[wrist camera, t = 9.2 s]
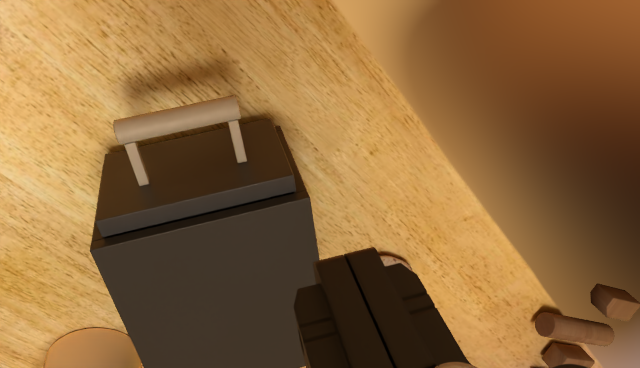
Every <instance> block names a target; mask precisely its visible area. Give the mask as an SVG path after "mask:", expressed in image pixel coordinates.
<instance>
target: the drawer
mask: <svg viewBox="0 0 640 368" xmlns="http://www.w3.org/2000/svg"><path fill="white" fill-rule="evenodd" d="M240 118H241V114H240V110H239V105H238V101H237V98H236V95H232V96H228V97H223V98H218V99H213V100H209V101H204V102H199V103H194V104H190V105H185V106H180V107H175V108H171V109H166V110H161V111H156V112H152V113H147V114H142V115H137V116H133V117H128V118H123V119H118V120H114V122H113V126H114V132H115V135H116V138H117V140H118V142H119V144H125V148H126V150H122V151H118V152H113V153H108V154H105V159H104V166H103V173H102V179H101V186H100V193H99V200H98V206H97V213H96V220H95V223H96V225H97V227H98V229H99V232H100V234H101V236H102V237H106V236H111V235H115V234H119V233H123V232H124V234H127V233H131V232H136V231H140V230H144V229H148V228H152V227H157V226H161V225H165V224H169V223H173V222H177V221H182V220H186V219H190V218H194V217H198V216H202V215H207V214H211V213H215V212H219V211H223V210H228V209H232V208H236V207H240V206H244V205H248V204H253V203H257V202H261V201H265V200H269V199H273V198H278V197H282V196H283V195H282V194H286V193H291V192H295V191H296V185H295V179H294V174H293V172H292V169H291V167H290V164H289V162H288V159H287V157H286V154H285V152H284V149H283V147H282V144H281V142H280V139H279V137H278V134H277V132H276V129H275V127H274V124H273V122H272V119H271V118H269V119H264V120H259V121H255V122H250V123H246V124H241V125H239V122H238V119H240ZM227 121H228V125H229V127H227V128H223V129H218V130H214V131H209V132H205V133H200V134H195V135H191V136H186V137H182V138H177V139H172V140H168V141H163V142H159V143H154V144H150V145H145V146H140V147H138V145H137V142H136V141H139V140H144V139H149V138H153V137H158V136H162V135H167V134H172V133H176V132H181V131H186V130H190V129H195V128H199V127H204V126H209V125H213V124H218V123H222V122H227Z"/></svg>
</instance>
